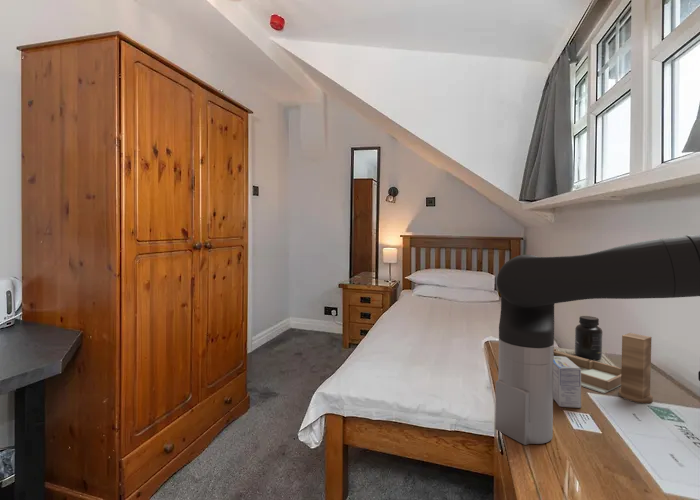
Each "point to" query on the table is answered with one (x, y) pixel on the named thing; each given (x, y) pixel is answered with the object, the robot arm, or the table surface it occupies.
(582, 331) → the supplement bottle
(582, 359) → the keyhole board
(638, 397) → the walnut keyhole peg
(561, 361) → the medicine box
